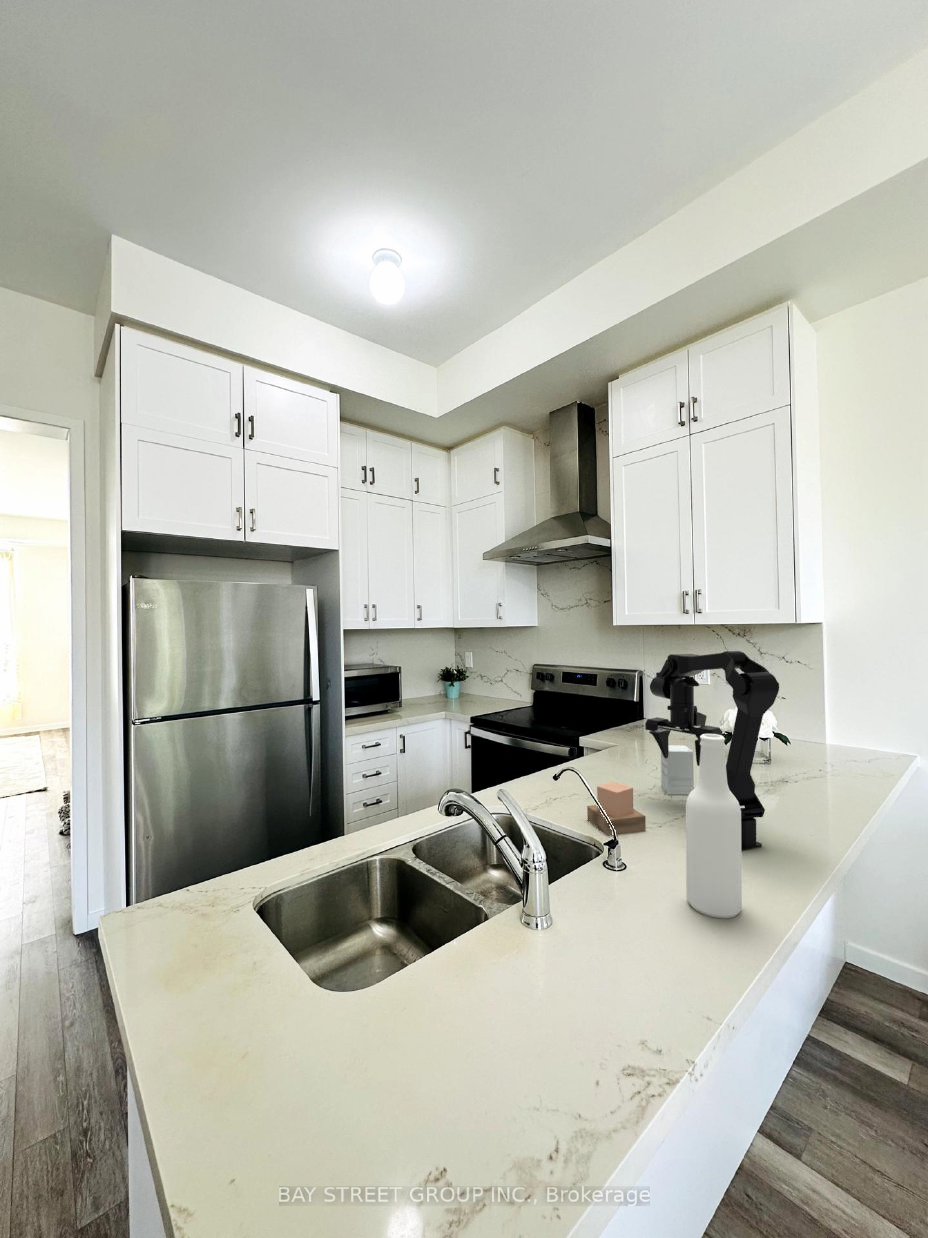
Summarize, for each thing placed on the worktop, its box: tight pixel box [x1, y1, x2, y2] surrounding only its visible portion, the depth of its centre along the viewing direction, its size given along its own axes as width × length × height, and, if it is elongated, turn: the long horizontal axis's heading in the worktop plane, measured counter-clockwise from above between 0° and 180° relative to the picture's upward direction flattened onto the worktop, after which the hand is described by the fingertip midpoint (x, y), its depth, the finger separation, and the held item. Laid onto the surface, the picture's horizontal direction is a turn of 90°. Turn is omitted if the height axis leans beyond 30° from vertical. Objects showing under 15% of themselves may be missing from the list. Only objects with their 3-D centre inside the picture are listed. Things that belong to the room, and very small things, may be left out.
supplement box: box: [660, 744, 695, 796], centre depth 155 cm, size 7×7×13 cm
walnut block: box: [586, 804, 647, 837], centre depth 130 cm, size 10×10×4 cm
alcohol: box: [685, 734, 743, 919], centre depth 93 cm, size 9×9×30 cm
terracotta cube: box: [596, 781, 634, 818], centre depth 129 cm, size 6×6×6 cm
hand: (682, 761), depth 138 cm, fingers open, 9 cm apart
